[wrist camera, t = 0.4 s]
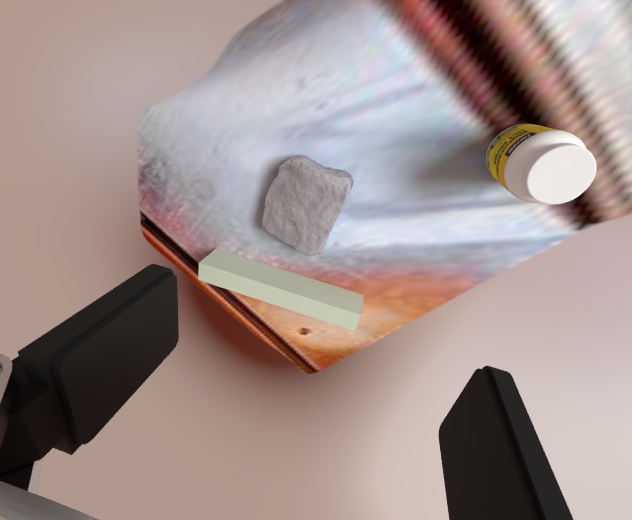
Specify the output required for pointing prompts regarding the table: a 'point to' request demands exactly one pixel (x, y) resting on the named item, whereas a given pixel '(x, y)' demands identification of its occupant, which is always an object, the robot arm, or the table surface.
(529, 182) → the pill bottle
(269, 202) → the grey rock
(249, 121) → the table surface
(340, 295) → the board
